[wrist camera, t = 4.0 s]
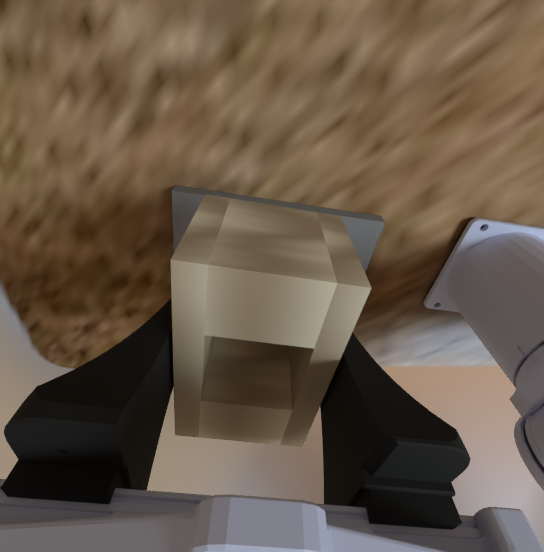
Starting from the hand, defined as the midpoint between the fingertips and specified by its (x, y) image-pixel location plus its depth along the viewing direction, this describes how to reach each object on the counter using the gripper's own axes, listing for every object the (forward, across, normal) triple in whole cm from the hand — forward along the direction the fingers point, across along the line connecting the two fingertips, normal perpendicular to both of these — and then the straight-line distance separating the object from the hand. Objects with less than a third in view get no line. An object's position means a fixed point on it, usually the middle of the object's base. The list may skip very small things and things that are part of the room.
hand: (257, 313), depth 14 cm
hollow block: (+1, 0, 0) cm, 1 cm away
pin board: (+9, -1, +3) cm, 10 cm away
